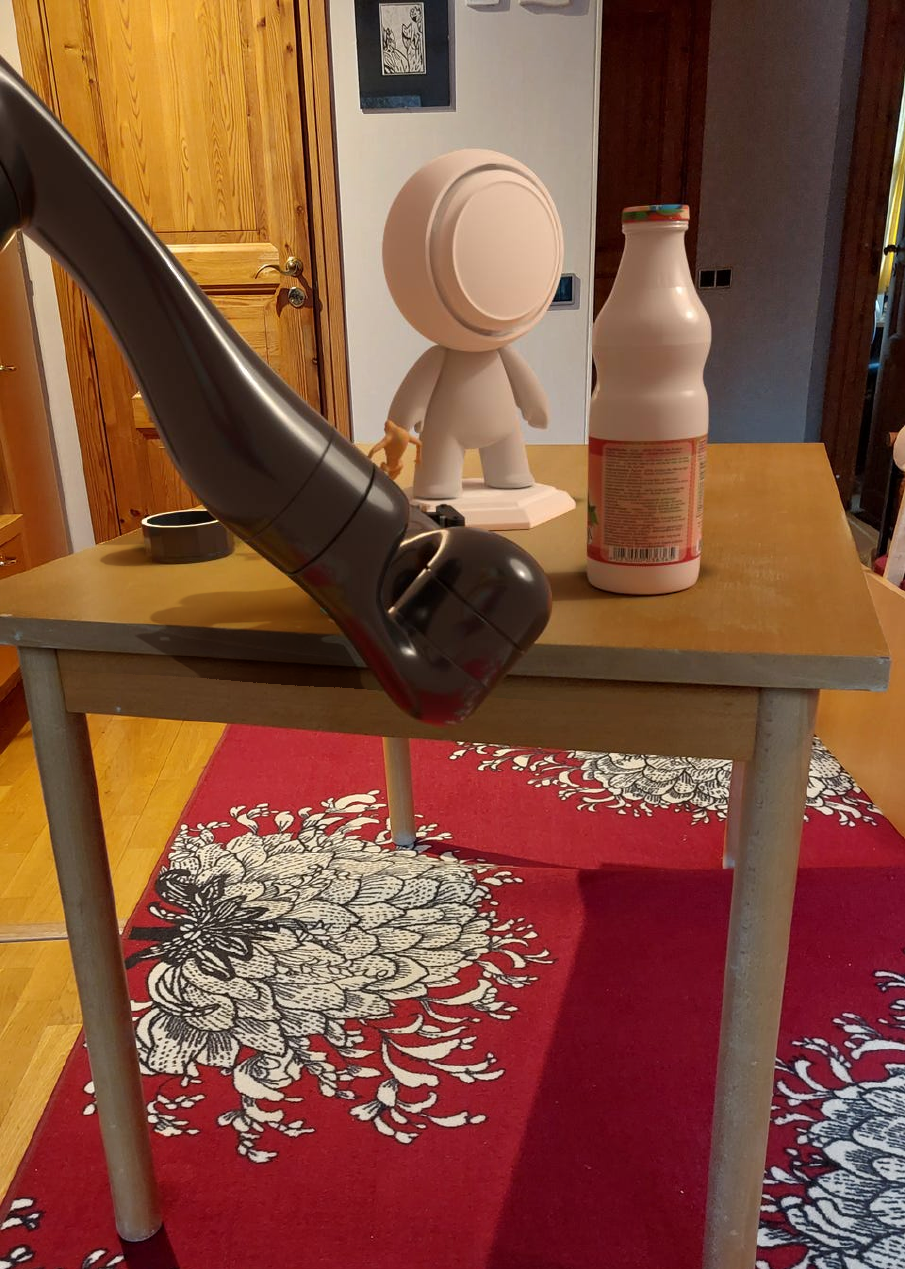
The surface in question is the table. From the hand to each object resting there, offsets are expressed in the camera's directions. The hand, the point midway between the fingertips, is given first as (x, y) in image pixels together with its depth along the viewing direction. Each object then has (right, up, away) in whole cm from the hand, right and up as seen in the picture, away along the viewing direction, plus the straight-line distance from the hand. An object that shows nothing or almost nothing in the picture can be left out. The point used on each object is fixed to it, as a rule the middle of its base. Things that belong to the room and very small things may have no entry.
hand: (348, 518), depth 87 cm
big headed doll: (+11, +10, +36) cm, 39 cm away
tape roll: (-18, +2, +23) cm, 29 cm away
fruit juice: (+24, -4, +6) cm, 25 cm away
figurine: (+2, +3, +22) cm, 22 cm away
